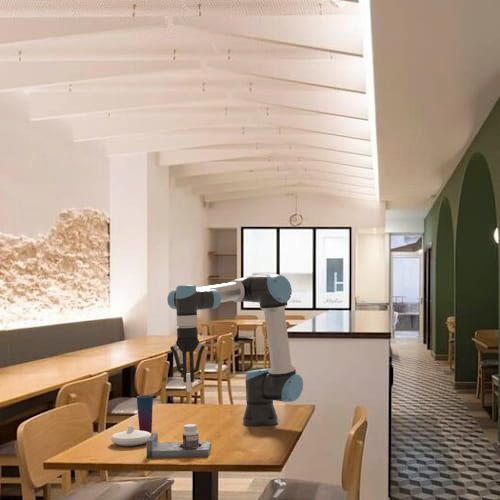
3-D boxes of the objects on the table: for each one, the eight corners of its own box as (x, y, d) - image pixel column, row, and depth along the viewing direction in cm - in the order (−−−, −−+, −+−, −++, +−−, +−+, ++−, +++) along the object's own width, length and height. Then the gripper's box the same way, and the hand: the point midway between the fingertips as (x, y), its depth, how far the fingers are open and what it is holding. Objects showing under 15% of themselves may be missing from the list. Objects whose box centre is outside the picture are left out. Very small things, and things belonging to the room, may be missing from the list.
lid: (116, 450, 271) (115, 431, 271) (106, 442, 285) (106, 424, 285) (156, 445, 277) (156, 427, 277) (145, 438, 291) (145, 420, 292)
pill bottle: (183, 451, 266) (182, 424, 266) (198, 450, 266) (197, 423, 267) (183, 454, 260) (182, 427, 261) (199, 454, 261) (198, 426, 261)
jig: (211, 447, 270) (210, 431, 270) (208, 456, 257) (207, 439, 257) (152, 449, 270) (152, 433, 270) (146, 458, 257) (146, 441, 257)
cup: (150, 434, 298) (149, 397, 298) (135, 433, 299) (134, 397, 300) (156, 430, 305) (155, 394, 305) (140, 430, 306) (139, 394, 306)
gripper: (205, 325, 269) (207, 389, 268) (170, 326, 269) (172, 390, 268) (203, 327, 261) (205, 392, 260) (168, 328, 262) (170, 393, 261)
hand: (189, 391), depth 264 cm, fingers closed
